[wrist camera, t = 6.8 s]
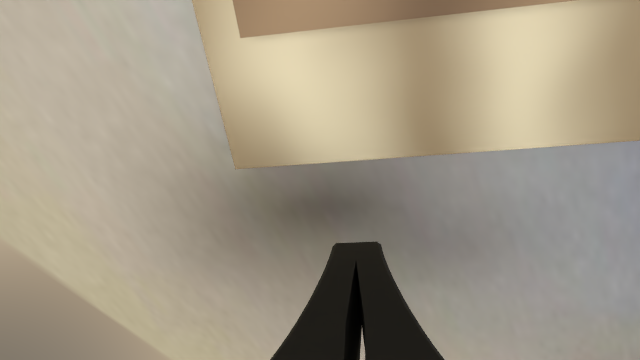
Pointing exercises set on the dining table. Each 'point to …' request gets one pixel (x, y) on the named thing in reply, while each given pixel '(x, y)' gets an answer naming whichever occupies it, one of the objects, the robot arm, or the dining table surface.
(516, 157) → the dining table surface
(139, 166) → the dining table surface
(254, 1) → the picture frame
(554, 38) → the display board
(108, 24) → the dining table surface
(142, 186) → the dining table surface
